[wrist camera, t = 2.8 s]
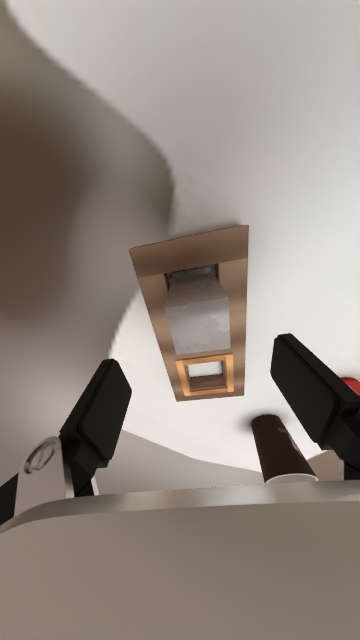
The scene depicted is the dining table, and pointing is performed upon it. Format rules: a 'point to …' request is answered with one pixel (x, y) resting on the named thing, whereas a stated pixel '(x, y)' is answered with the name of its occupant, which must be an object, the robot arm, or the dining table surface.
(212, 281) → the metal block
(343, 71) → the dining table surface
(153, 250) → the socket board
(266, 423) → the coffee mug
